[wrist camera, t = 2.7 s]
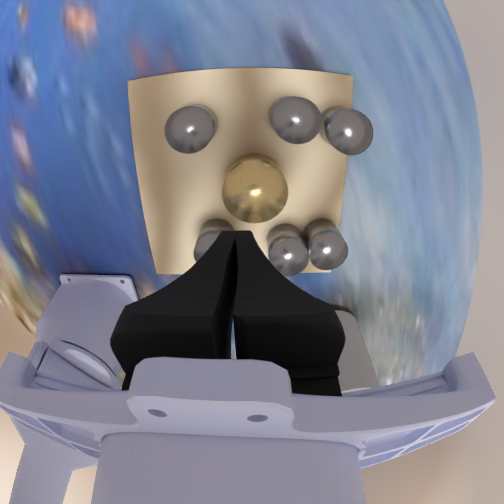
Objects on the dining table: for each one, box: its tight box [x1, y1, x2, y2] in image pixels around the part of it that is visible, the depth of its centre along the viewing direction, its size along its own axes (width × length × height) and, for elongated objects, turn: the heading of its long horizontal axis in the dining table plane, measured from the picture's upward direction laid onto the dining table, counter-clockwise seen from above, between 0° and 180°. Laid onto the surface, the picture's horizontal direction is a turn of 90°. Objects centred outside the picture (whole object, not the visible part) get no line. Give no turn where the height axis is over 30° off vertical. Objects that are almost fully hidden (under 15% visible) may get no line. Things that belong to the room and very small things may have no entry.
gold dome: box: [222, 153, 288, 223], centre depth 19 cm, size 4×4×2 cm
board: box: [128, 68, 353, 274], centre depth 20 cm, size 16×17×1 cm
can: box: [335, 310, 380, 393], centre depth 25 cm, size 8×8×12 cm
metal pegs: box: [165, 96, 373, 276], centre depth 19 cm, size 13×13×3 cm
